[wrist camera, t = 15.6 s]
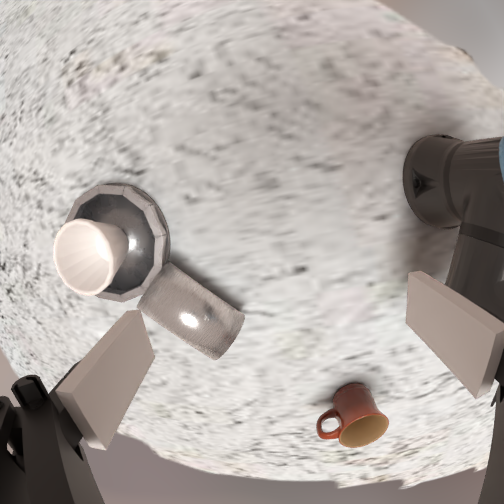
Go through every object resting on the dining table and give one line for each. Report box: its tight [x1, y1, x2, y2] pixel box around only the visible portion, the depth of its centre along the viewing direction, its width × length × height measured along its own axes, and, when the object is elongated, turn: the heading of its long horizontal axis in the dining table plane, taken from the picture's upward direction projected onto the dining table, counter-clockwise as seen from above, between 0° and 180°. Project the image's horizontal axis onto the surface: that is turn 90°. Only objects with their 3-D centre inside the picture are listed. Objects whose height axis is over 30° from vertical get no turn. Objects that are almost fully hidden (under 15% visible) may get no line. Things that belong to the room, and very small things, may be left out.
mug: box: [316, 383, 389, 448], centre depth 43 cm, size 12×9×10 cm
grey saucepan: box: [65, 183, 245, 360], centre depth 39 cm, size 31×18×8 cm, turn 53°
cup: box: [53, 218, 129, 296], centre depth 36 cm, size 10×10×9 cm
